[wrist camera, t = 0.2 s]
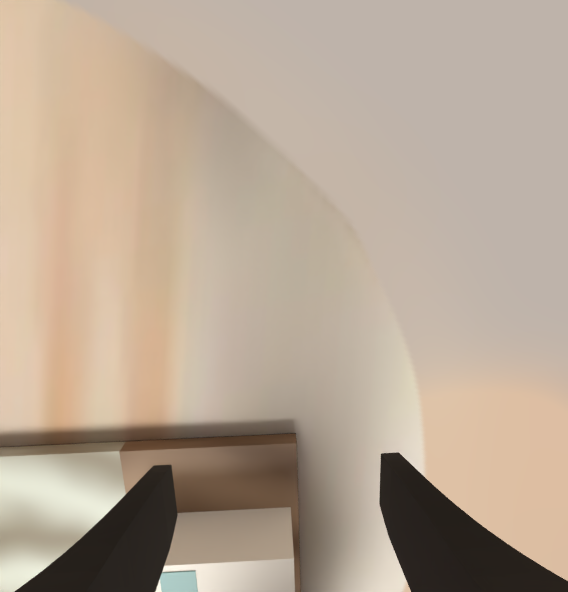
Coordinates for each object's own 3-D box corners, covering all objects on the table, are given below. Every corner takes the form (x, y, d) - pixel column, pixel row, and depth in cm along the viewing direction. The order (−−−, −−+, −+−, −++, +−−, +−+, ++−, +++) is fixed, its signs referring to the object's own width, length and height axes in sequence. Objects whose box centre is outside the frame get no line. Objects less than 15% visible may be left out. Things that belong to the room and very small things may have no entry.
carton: (293, 585, 24) (296, 646, 21) (163, 592, 24) (145, 656, 20) (290, 507, 23) (293, 559, 19) (152, 514, 22) (130, 568, 19)
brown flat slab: (300, 599, 26) (302, 639, 23) (-1, 617, 25) (-31, 660, 23) (295, 433, 23) (298, 459, 20) (-48, 449, 22) (-88, 478, 20)
